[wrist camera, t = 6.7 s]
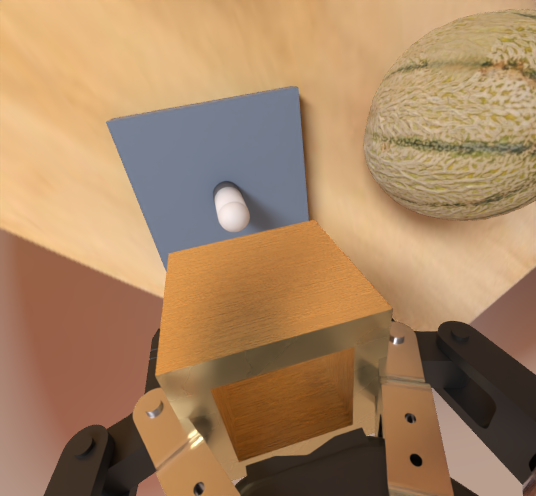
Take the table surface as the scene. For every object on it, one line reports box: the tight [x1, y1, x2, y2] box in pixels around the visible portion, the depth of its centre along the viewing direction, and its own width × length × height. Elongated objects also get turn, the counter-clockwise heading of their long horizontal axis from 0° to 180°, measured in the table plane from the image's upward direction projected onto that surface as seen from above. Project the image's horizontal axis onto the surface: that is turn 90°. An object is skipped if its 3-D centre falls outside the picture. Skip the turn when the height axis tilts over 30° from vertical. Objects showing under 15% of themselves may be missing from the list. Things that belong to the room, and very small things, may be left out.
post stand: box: [106, 86, 309, 272], centre depth 25 cm, size 15×15×8 cm
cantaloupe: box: [363, 9, 536, 221], centre depth 23 cm, size 15×15×15 cm
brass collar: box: [155, 220, 393, 481], centre depth 12 cm, size 6×6×6 cm
